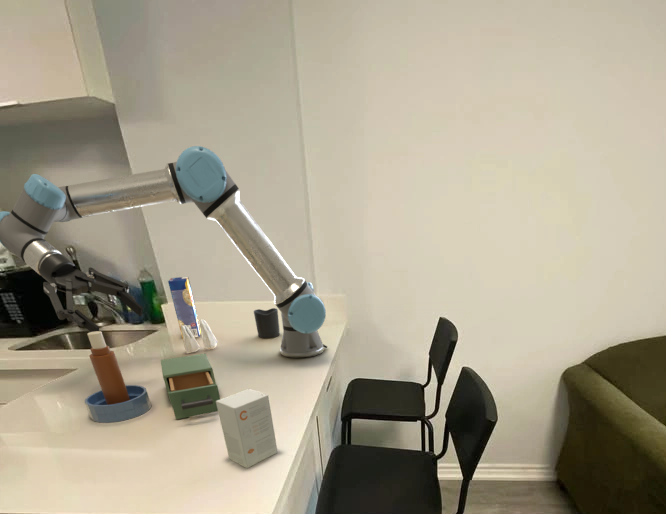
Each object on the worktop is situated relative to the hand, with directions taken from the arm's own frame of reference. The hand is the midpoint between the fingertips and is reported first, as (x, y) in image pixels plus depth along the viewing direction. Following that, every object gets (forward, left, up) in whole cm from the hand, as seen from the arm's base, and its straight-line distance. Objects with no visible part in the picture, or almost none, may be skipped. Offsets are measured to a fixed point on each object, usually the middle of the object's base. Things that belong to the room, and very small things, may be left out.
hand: (120, 321), depth 108 cm
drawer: (-19, +7, -20) cm, 28 cm away
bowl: (+1, +9, -21) cm, 23 cm away
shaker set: (+6, -48, -21) cm, 53 cm away
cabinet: (-11, -6, -21) cm, 25 cm away
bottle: (+1, +9, -20) cm, 22 cm away
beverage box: (+22, -71, -21) cm, 77 cm away
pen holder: (-13, -69, -21) cm, 73 cm away
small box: (-42, +29, -21) cm, 55 cm away
